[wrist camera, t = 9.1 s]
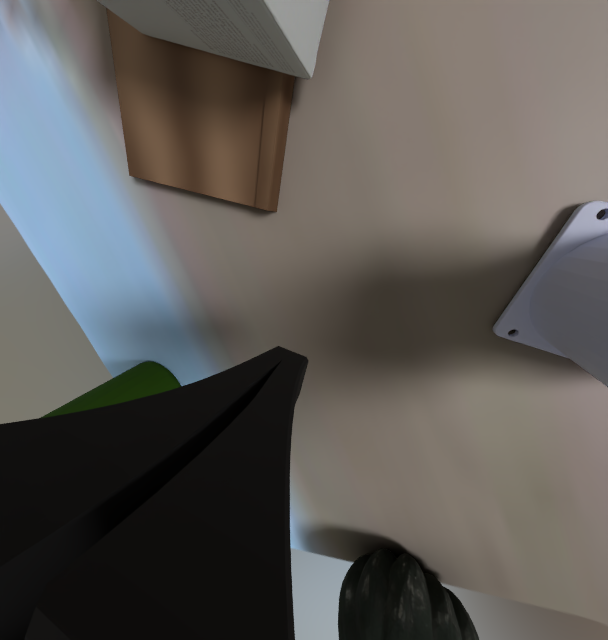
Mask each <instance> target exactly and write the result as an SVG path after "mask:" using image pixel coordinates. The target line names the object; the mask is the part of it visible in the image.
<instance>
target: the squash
mask: <svg viewBox="0 0 608 640" xmlns="http://www.w3.org/2000/svg"><path fill="white" fill-rule="evenodd" d="M338 631H339V640H479V637H478V634H477V632H476V630H475V627H474V625H473V622H472V620H471V618H470V616H469V614H468V613H467V612H466V610H465V608H464V606H463V605H462V603H461V601H460V600H459V599H458V598H457V597H456V596H455V595H454V594H453V592H451V591H450V590H449V589H447V588H445V587H443V586H442V584H441V583H440V582H439V581H438V580H437V579H436V578H435V577H434V576H432V575H431V574H423V572H422V570H421V568H420V566H419V565H418V563H417V562H416V561H415V560H414V558H412V557H411V556H410V555H409V554H406V553H404V554H402V555H400V556H399V557H398V558H396V557H395V556H394V554H393V553H392V552H390V551H389V550H386V549H379V550H378V551H376V552H375V553H373V554H372V555H370V554H366V555H363V556H362V557H359V558H358V559H357V560H356V561H355V562H354V563H353V564H352V566H351V567H350V569H349V570H348V572H347V574H346V576H345V578H344V580H343V583H342V587H341V591H340V598H339V613H338Z"/></svg>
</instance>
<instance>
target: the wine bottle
mask: <svg viewBox="0 0 608 640" xmlns="http://www.w3.org/2000/svg"><path fill="white" fill-rule="evenodd" d="M178 387H181V385H180V384H179V382H178V380H177V379H176V378H175V377H174V375H173V374H172V373H171V372H170V371H169V370H168V369H166V368H165V367H164V366H162V365H160V364H158V363H156V362H151V361H148V362H144V363H140V364H138V365H137V366H135V367H133V368H131V369H129V370H127V371H126V372H124V373H122V374H120V375H118V376H116V377H115V378H113V379H111V380H109V381H107V382H105V383H104V384H102V385H100V386H98V387H96V388H94V389H92V390H91V391H89V392H87V393H85V394H83V395H82V396H80V397H78V398H76V399H74V400H72V401H70V402H69V403H67V404H65V405H63V406H61V407H60V408H58V409H56V410H54V411H52V412H50V413H48V414H47V415H45V416H43V417H41V418H45V417H51V416H57V415H63V414H68V413H74V412H79V411H84V410H89V409H94V408H99V407H104V406H109V405H113V404H118V403H122V402H126V401H130V400H134V399H138V398H142V397H146V396H150V395H154V394H158V393H162V392H165V391H169V390H172V389H175V388H178Z"/></svg>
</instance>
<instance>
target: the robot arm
mask: <svg viewBox="0 0 608 640" xmlns="http://www.w3.org/2000/svg"><path fill="white" fill-rule="evenodd" d="M602 209H603V210H605V215H604V216H603V217H602V218H601V219H597V217H596V215H597V213H598V212H599V211H600V210H602ZM513 329H515V330H516V331H515V332H514V333H513V334H508V332H509V331H510V330H513ZM493 332H494V333H495V334H496V335H497V336H499V337H503V338H506V339H509V340H512V341H515V342H518V343H522V344H525V345H528V346H531V347H534V348H537V349H541V350H544V351H547V352H550V353H553V354H556V355H560V356H563V357H566V358H569V359H571V360H572V361H574V362H575V363H576V364H578V365H579V366H580V367H582V368H583V369H584V370H586V371H587V372H588V373H590V374H591V375H592V376H594V377H595V378H596V379H598V380H599V381H600V382H602V383H603V384H604V385H606V386H607V387H608V202H603V201H589V202H586V203H583V204H582V205H580V206H578V207H577V208H576V210H575V211H574V212H573V214H572V215H571V216H570V218H569V219H568V221H567V222H566V223H565V225H564V226H563V228H562V229H561V231H560V232H559V233H558V235H557V236H556V238H555V239H554V241H553V242H552V243H551V245H550V246H549V248H548V249H547V251H546V252H545V253H544V255H543V256H542V258H541V259H540V261H539V262H538V263H537V265H536V266H535V268H534V269H533V271H532V272H531V273H530V275H529V276H528V278H527V279H526V280H525V282H524V283H523V285H522V286H521V288H520V289H519V290H518V292H517V293H516V295H515V296H514V298H513V299H512V300H511V302H510V303H509V305H508V306H507V308H506V309H505V310H504V312H503V313H502V315H501V316H500V318H499V319H498V320H497V322H496V323H495V325H494V326H493ZM307 364H308V359H307V357H305V356H302V355H300V354H297V353H295V352H292V351H290V350H287V349H285V348H282V347H280V346H278V347H275V348H273V349H271V350H269V351H267V352H265V353H263V354H261V355H259V356H257V357H254V358H252V359H250V360H248V361H246V362H244V363H241V364H239V365H237V366H235V367H233V368H230V369H228V370H225V371H223V372H220V373H218V374H215V375H213V376H210V377H208V378H205V379H203V380H200V381H197V382H194V383H191V384H188V385H185V386H182V387H178V388H175V389H172V390H169V391H165V392H162V393H158V394H154V395H150V396H146V397H142V398H138V399H134V400H130V401H126V402H122V403H118V404H113V405H109V406H104V407H99V408H94V409H89V410H84V411H79V412H74V413H68V414H63V415H57V416H51V417H45V418H39V419H32V420H26V421H19V422H12V423H6V424H0V640H295V634H294V616H293V598H292V576H291V549H290V451H291V435H292V423H293V415H294V407H295V403H296V401H297V398H298V396H299V394H300V390H301V386H302V383H303V379H304V375H305V372H306V368H307Z"/></svg>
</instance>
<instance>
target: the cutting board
mask: <svg viewBox="0 0 608 640" xmlns="http://www.w3.org/2000/svg"><path fill="white" fill-rule="evenodd" d="M106 9H107V16H108V24H109V31H110V38H111V45H112V52H113V60H114V67H115V74H116V81H117V89H118V96H119V103H120V110H121V118H122V125H123V132H124V139H125V147H126V154H127V161H128V168H129V176H133V177H137V178H141V179H145V180H149V181H153V182H157V183H161V184H165V185H169V186H173V187H177V188H181V189H185V190H189V191H193V192H197V193H201V194H205V195H208V196H212V197H216V198H220V199H224V200H228V201H232V202H236V203H240V204H244V205H248V206H252V207H255V208H259V209H263V210H267V211H275V212H277V206H278V198H279V191H280V183H281V176H282V168H283V161H284V153H285V146H286V138H287V131H288V124H289V116H290V109H291V101H292V94H293V86H294V79H295V76H293V75H289V74H286V73H282V72H279V71H275V70H271V69H268V68H264V67H260V66H256V65H252V64H249V63H245V62H241V61H238V60H234V59H231V58H227V57H224V56H220V55H216V54H213V53H209V52H206V51H202V50H199V49H195V48H191V47H187V46H184V45H181V44H177V43H173V42H170V41H166V40H163V39H159V38H155V37H151V36H148V35H145V34H142V33H141V32H139V31H138V30H137V29H135V28H134V27H133V26H131V25H130V24H128V23H127V22H126V21H124V20H123V19H122V18H120V17H119V16H117V15H116V14H115V13H113V12H112V11H110V10H109V9H108V8H106Z"/></svg>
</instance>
